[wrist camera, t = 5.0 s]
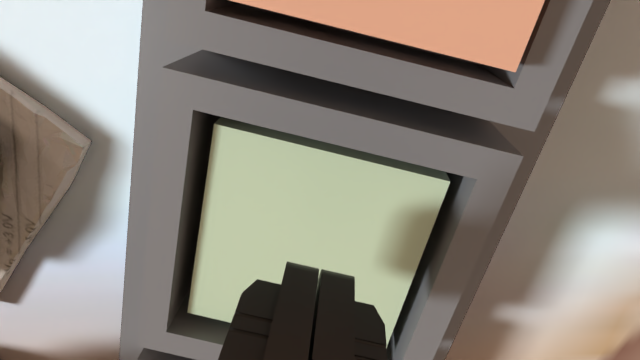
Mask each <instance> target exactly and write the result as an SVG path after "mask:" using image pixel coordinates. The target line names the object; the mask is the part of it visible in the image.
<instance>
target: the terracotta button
mask: <svg viewBox="0 0 640 360" xmlns="http://www.w3.org/2000/svg"><path fill="white" fill-rule="evenodd" d="M230 1H234V2H238V3H242V4H246V5H250V6H254V7H258V8H262V9H266V10H270V11H274V12H278V13H282V14H285V15H289V16H293V17H297V18H301V19H305V20H309V21H313V22H317V23H321V24H325V25H329V26H333V27H337V28H341V29H345V30H349V31H353V32H357V33H361V34H365V35H369V36H373V37H377V38H381V39H385V40H389V41H393V42H397V43H401V44H405V45H409V46H413V47H417V48H420V49H424V50H428V51H432V52H436V53H440V54H444V55H448V56H452V57H456V58H460V59H464V60H468V61H472V62H476V63H480V64H484V65H488V66H492V67H496V68H500V69H504V70H508V71H512V72H516V70H517V68H518V66H519V63H520V61H521V58H522V56H523V53H524V51H525V48H526V46H527V43H528V41H529V38H530V36H531V33H532V31H533V29H534V26H535V24H536V21H537V19H538V16H539V14H540V11H541V9H542V6H543V4H544V1H545V0H230Z"/></svg>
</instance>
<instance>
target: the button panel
mask: <svg viewBox="0 0 640 360" xmlns="http://www.w3.org/2000/svg"><path fill="white" fill-rule="evenodd" d="M609 3H610V0H545V1H544V4H543V6H542V9H541V11H540V14H539V16H538V19H537V21H536V24H535V26H534V29H533V31H532V33H531V36H530V38H529V41H528V43H527V46H526V48H525V51H524V53H523V56H522V58H521V61H520V63H519V66H518V68H517V70H516V72H512V71H508V70H504V69H500V68H496V67H492V66H488V65H484V64H480V63H476V62H472V61H468V60H464V59H460V58H456V57H452V56H448V55H444V54H440V53H436V52H432V51H428V50H424V49H420V48H417V47H413V46H409V45H405V44H401V43H397V42H393V41H389V40H385V39H381V38H377V37H373V36H369V35H365V34H361V33H357V32H353V31H349V30H345V29H341V28H337V27H333V26H329V25H325V24H321V23H317V22H313V21H309V20H305V19H301V18H297V17H293V16H289V15H285V14H282V13H278V12H274V11H270V10H266V9H262V8H258V7H254V6H250V5H246V4H242V3H238V2H234V1H230V0H143V8H142V23H141V38H140V53H139V68H138V83H137V98H136V113H135V128H134V143H133V158H132V173H131V187H130V202H129V217H128V232H127V247H126V262H125V277H124V292H123V307H122V322H121V337H120V352H119V360H218V358H219V355H220V352H221V349H222V347H223V344H224V341H225V338H226V336H227V333H228V331H229V327H230V324H231V323H230V322H225V321H221V320H217V319H212V318H208V317H204V316H200V315H195V314H191V313H187V311H188V304H189V297H190V290H191V283H192V276H193V269H194V262H195V255H196V248H197V241H198V234H199V227H200V220H201V213H202V205H203V198H204V191H205V184H206V177H207V170H208V163H209V156H210V149H211V142H212V135H213V128H214V123H215V122H216V121H217V120H218V119H219V118H220V117H224V118H228V119H232V120H237V121H241V122H245V123H249V124H253V125H257V126H261V127H265V128H269V129H273V130H277V131H281V132H286V133H290V134H294V135H298V136H302V137H306V138H310V139H314V140H318V141H322V142H326V143H330V144H335V145H339V146H343V147H347V148H351V149H355V150H359V151H363V152H367V153H371V154H375V155H379V156H383V157H388V158H392V159H396V160H400V161H404V162H408V163H412V164H416V165H420V166H424V167H428V168H432V169H437V170H441V171H445V172H446V173H447V175H448V178H449V180H450V184H449V187H448V189H447V192H446V194H445V197H444V200H443V202H442V205H441V207H440V210H439V213H438V215H437V218H436V220H435V223H434V226H433V228H432V231H431V233H430V236H429V239H428V241H427V244H426V246H425V249H424V251H423V254H422V257H421V259H420V262H419V264H418V267H417V270H416V272H415V275H414V277H413V280H412V283H411V285H410V288H409V290H408V293H407V296H406V298H405V301H404V303H403V306H402V309H401V311H400V314H399V316H398V319H397V322H396V324H395V327H394V329H393V332H392V335H391V337H390V340H389V342H388V345H387V348H386V349H387V356H388V360H445V358H446V356H447V354H448V352H449V350H450V347H451V345H452V343H453V341H454V339H455V337H456V334H457V332H458V330H459V328H460V326H461V324H462V321H463V319H464V317H465V315H466V313H467V310H468V308H469V306H470V304H471V302H472V300H473V297H474V295H475V293H476V291H477V289H478V287H479V284H480V282H481V280H482V278H483V276H484V274H485V271H486V269H487V267H488V265H489V263H490V261H491V258H492V256H493V254H494V252H495V250H496V248H497V245H498V243H499V241H500V239H501V237H502V235H503V232H504V230H505V228H506V226H507V224H508V222H509V219H510V217H511V215H512V213H513V211H514V209H515V206H516V204H517V202H518V200H519V198H520V196H521V193H522V191H523V189H524V187H525V185H526V183H527V180H528V178H529V176H530V174H531V172H532V170H533V167H534V165H535V163H536V161H537V159H538V157H539V154H540V152H541V150H542V148H543V146H544V143H545V141H546V139H547V137H548V135H549V133H550V130H551V128H552V126H553V124H554V122H555V120H556V117H557V115H558V113H559V111H560V109H561V107H562V104H563V102H564V100H565V98H566V96H567V94H568V91H569V89H570V87H571V85H572V83H573V81H574V78H575V76H576V74H577V72H578V70H579V68H580V65H581V63H582V61H583V59H584V57H585V55H586V52H587V50H588V48H589V46H590V44H591V42H592V39H593V37H594V35H595V33H596V31H597V29H598V26H599V24H600V22H601V20H602V18H603V16H604V13H605V11H606V9H607V7H608V5H609Z"/></svg>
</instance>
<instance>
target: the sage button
mask: <svg viewBox="0 0 640 360" xmlns="http://www.w3.org/2000/svg"><path fill="white" fill-rule="evenodd" d="M449 184H450V180H449V178H448V175H447V173H446V172H445V171H441V170H437V169H432V168H428V167H424V166H420V165H416V164H412V163H408V162H404V161H400V160H396V159H392V158H388V157H383V156H379V155H375V154H371V153H367V152H363V151H359V150H355V149H351V148H347V147H343V146H339V145H335V144H330V143H326V142H322V141H318V140H314V139H310V138H306V137H302V136H298V135H294V134H290V133H286V132H281V131H277V130H273V129H269V128H265V127H261V126H257V125H253V124H249V123H245V122H241V121H237V120H232V119H228V118H224V117H220V118H219V119H218V120H217V121H216V122H215V123H214V128H213V135H212V142H211V149H210V156H209V163H208V170H207V177H206V184H205V191H204V198H203V205H202V213H201V220H200V227H199V234H198V241H197V248H196V255H195V262H194V269H193V276H192V283H191V290H190V297H189V304H188V311H187V313H191V314H195V315H200V316H204V317H208V318H212V319H217V320H221V321H225V322H230V323H231V322H232V319H233V316H234V314H235V310H236V308H237V305H238V302H239V299H240V297H241V294H242V292H243V291H244V290H246V289H247V288H248V287H249V286H250V285H251V284H252V283H253V282H255V281H256V280H257V279H259V280H263V281H268V282H272V283H277V284H281V283H282V279H283V275H284V271H285V267H286V263H287V261H288V262H292V263H296V264H301V265H305V266H310V267H314V268H319V275H320V272H321V269H324V270H328V271H332V272H337V273H341V274H346V275H350V276H354V277H355V301H357V302H362V303H366V304H371V305H374V306H375V308H376V310H377V312H378V313H379V315H380V317H381V319H382V320H383V322H384V324H385V332H386V344H387V345H388V342H389V340H390V337H391V335H392V332H393V329H394V327H395V324H396V322H397V319H398V316H399V314H400V311H401V309H402V306H403V303H404V301H405V298H406V296H407V293H408V290H409V288H410V285H411V283H412V280H413V277H414V275H415V272H416V270H417V267H418V264H419V262H420V259H421V257H422V254H423V251H424V249H425V246H426V244H427V241H428V239H429V236H430V233H431V231H432V228H433V226H434V223H435V220H436V218H437V215H438V213H439V210H440V207H441V205H442V202H443V200H444V197H445V194H446V192H447V189H448V187H449ZM318 278H319V276H318ZM387 345H386V348H387Z"/></svg>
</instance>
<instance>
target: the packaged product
mask: <svg viewBox="0 0 640 360" xmlns="http://www.w3.org/2000/svg"><path fill="white" fill-rule="evenodd" d="M91 142H92V141H91V140H90V139H89V138H87V137H86V136H85V135H83V134H82V133H80V132H79V131H78V130H76V129H75V128H74V127H72V126H71V125H70V124H68V123H67V122H66V121H64V120H63V119H62V118H60V117H59V116H58V115H56V114H55V113H54V112H52V111H51V110H50V109H48V108H47V107H46V106H44V105H43V104H41V103H40V102H38V101H37V100H35V99H34V98H32V97H31V96H29V95H27V94H26V93H24V92H23V91H21V90H20V89H18V88H17V87H15V86H14V85H12V84H11V83H9V82H7V81H6V80H4V79H3V78H1V77H0V292H1V291H2V289H3V288H4V286H5V284H6V283H7V281H8V279H9V278H10V276H11V274H12V273H13V271H14V269H15V268H16V266H17V264H18V263H19V261H20V260H21V258H22V256H23V254H24V252H25V251H26V249H27V248H28V246H29V245H30V244H31V242H32V241H33V239H34V238H35V236H36V235H37V233H38V232H39V231H40V229H41V228H42V226H43V225H44V223H45V222H46V220H47V219H48V218H49V216H50V215H51V213H52V212H53V210H54V209H55V207H56V206H57V204H58V203H59V202H60V200H61V199H62V197H63V196H64V194H65V193H66V191H67V190H68V189H69V187H70V186H71V184H72V182H73V180H74V178H75V176H76V174H77V172H78V170H79V167H80V165H81V163H82V161H83V159H84V157H85V155H86V152H87V150H88V148H89V146H90V144H91Z"/></svg>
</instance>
